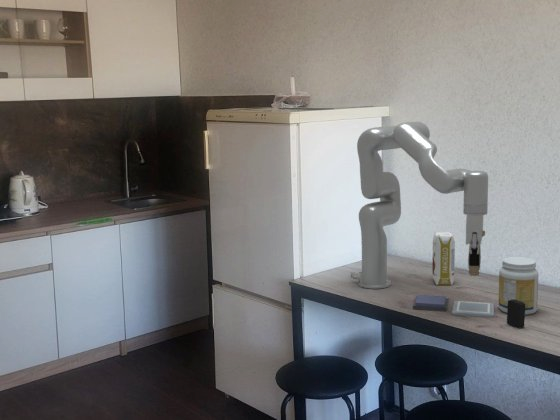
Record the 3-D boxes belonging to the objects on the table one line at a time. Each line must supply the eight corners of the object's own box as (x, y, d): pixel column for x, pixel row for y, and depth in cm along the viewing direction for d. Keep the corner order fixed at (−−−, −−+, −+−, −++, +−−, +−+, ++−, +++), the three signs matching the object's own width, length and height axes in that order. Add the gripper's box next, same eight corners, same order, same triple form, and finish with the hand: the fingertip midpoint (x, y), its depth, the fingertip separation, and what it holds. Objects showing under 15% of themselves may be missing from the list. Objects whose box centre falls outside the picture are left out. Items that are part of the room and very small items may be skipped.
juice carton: (451, 279, 261) (452, 231, 257) (454, 285, 252) (455, 236, 249) (431, 279, 261) (432, 231, 258) (434, 285, 253) (435, 236, 250)
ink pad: (412, 309, 227) (412, 303, 226) (416, 299, 237) (416, 293, 237) (446, 311, 223) (446, 305, 223) (448, 301, 234) (448, 295, 233)
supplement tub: (506, 302, 231) (507, 254, 228) (542, 308, 224) (544, 259, 221) (492, 311, 222) (493, 261, 219) (529, 318, 214) (531, 267, 211)
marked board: (452, 314, 220) (452, 311, 220) (454, 302, 232) (454, 300, 232) (493, 317, 216) (493, 314, 216) (493, 305, 228) (493, 302, 228)
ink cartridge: (524, 327, 206) (525, 302, 205) (519, 329, 205) (520, 304, 204) (511, 322, 211) (513, 298, 209) (506, 324, 210) (507, 299, 208)
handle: (475, 278, 218) (477, 233, 215) (461, 273, 224) (462, 229, 221) (486, 276, 220) (488, 231, 218) (472, 271, 226) (473, 228, 223)
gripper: (464, 204, 227) (463, 257, 230) (462, 213, 212) (461, 269, 215) (487, 205, 225) (486, 258, 228) (487, 213, 209) (486, 270, 212)
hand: (474, 263), depth 221 cm, fingers closed on handle, 4 cm apart
